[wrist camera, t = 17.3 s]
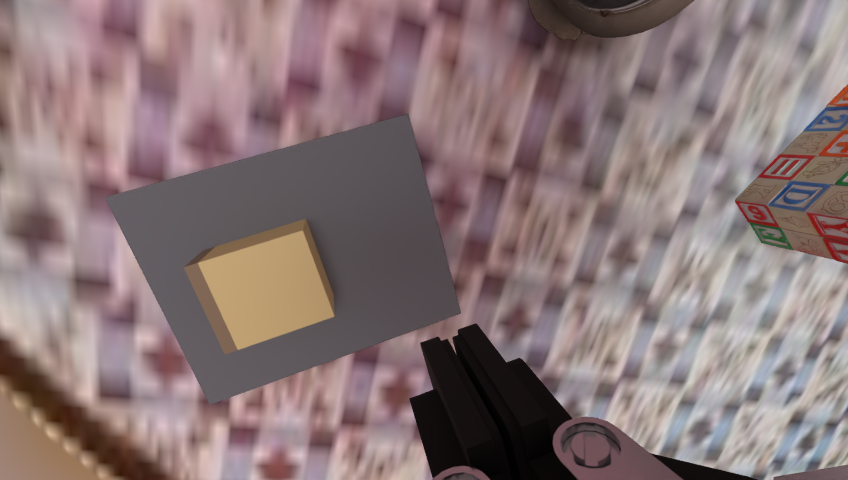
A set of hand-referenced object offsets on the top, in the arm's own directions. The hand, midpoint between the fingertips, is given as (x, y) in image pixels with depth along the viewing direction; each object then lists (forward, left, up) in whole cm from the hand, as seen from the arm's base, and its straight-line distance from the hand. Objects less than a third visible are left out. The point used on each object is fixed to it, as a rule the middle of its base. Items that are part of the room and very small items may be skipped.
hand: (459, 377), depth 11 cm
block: (+4, 0, -17) cm, 18 cm away
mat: (+5, 0, -20) cm, 21 cm away
